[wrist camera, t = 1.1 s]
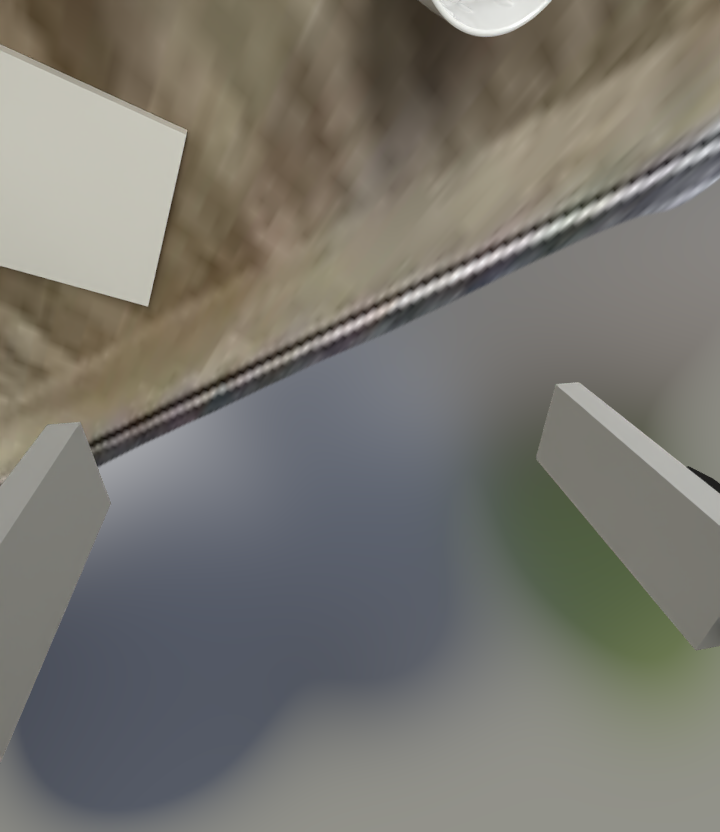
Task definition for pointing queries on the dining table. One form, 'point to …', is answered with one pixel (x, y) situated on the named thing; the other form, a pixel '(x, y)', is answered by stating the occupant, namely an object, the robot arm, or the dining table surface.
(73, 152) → the pad
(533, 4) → the white cup
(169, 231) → the dining table surface
